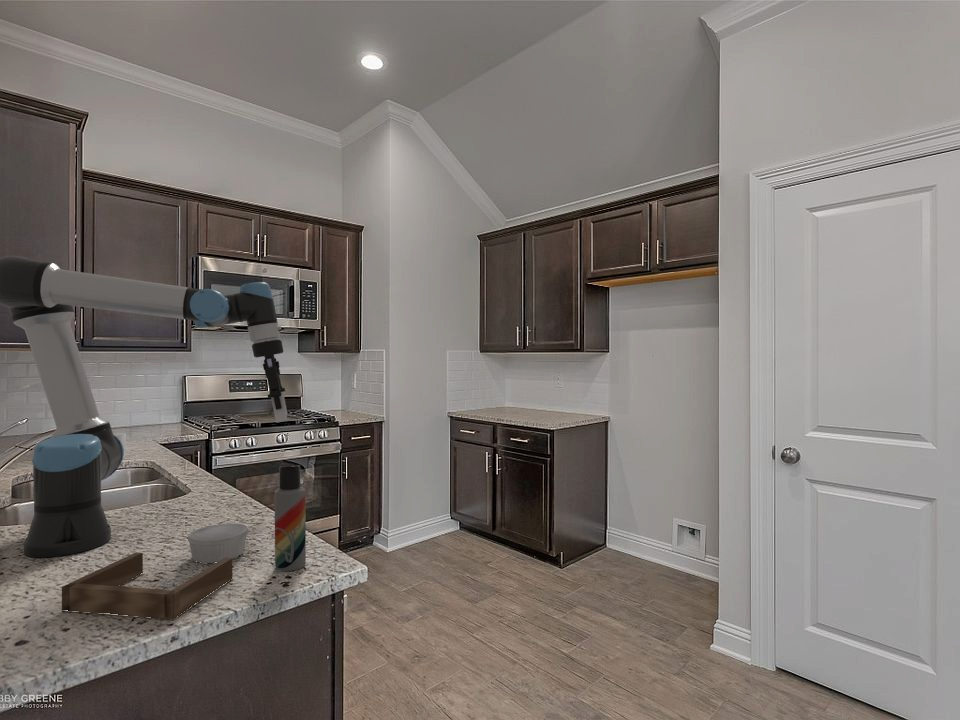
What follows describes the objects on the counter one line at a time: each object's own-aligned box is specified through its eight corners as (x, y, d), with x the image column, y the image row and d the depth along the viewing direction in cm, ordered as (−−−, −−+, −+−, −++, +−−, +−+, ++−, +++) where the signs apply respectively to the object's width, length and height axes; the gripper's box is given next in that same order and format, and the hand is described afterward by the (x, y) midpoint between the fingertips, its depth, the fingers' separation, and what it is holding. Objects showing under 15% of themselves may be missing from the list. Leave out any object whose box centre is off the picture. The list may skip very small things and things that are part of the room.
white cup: (117, 460, 210) (117, 435, 210) (98, 460, 211) (97, 435, 210) (131, 456, 218) (130, 432, 218) (112, 456, 218) (111, 432, 218)
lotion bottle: (275, 574, 101) (274, 468, 101) (274, 563, 106) (273, 463, 106) (307, 569, 103) (306, 466, 103) (304, 558, 108) (303, 460, 108)
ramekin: (206, 546, 116) (206, 522, 116) (257, 546, 116) (257, 522, 116) (175, 567, 105) (175, 540, 105) (231, 567, 104) (231, 540, 104)
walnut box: (61, 611, 86) (61, 586, 86) (135, 573, 101) (135, 552, 101) (173, 620, 83) (172, 594, 83) (232, 579, 98) (232, 558, 98)
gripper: (279, 337, 132) (296, 420, 133) (282, 339, 155) (296, 410, 157) (247, 342, 129) (265, 427, 131) (254, 344, 153) (269, 416, 154)
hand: (282, 418), depth 144 cm, fingers open, 13 cm apart
